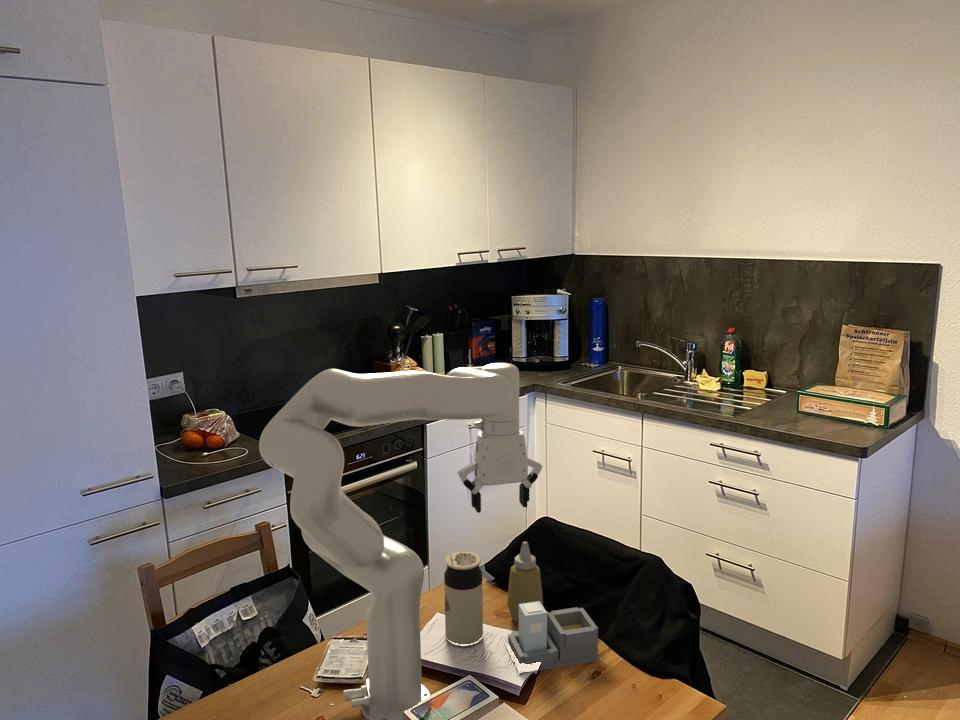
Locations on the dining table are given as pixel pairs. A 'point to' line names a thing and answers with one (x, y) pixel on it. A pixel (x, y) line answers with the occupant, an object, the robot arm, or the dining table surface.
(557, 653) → the block
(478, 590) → the travel mug
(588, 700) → the dining table surface
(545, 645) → the plug
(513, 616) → the squeeze bottle
